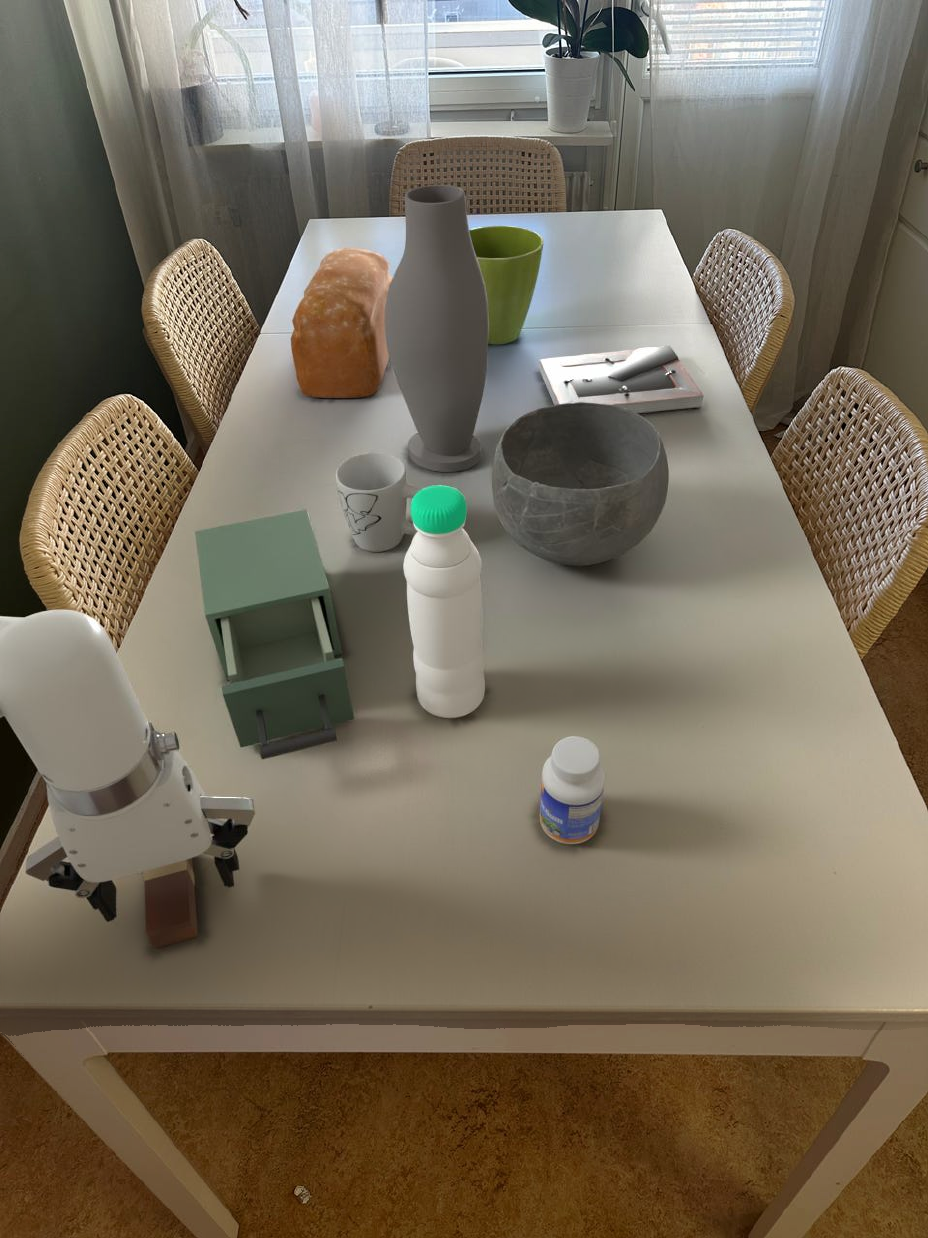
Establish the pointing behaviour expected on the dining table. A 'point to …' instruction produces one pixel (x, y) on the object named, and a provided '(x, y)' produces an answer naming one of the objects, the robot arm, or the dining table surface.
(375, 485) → the mug
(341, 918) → the dining table surface
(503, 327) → the flower pot
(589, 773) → the pill bottle
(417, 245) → the vase
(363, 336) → the bread
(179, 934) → the brown banded block
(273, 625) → the drawer
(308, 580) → the cabinet
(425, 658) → the water bottle
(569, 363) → the picture frame
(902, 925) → the dining table surface
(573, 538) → the bowl
